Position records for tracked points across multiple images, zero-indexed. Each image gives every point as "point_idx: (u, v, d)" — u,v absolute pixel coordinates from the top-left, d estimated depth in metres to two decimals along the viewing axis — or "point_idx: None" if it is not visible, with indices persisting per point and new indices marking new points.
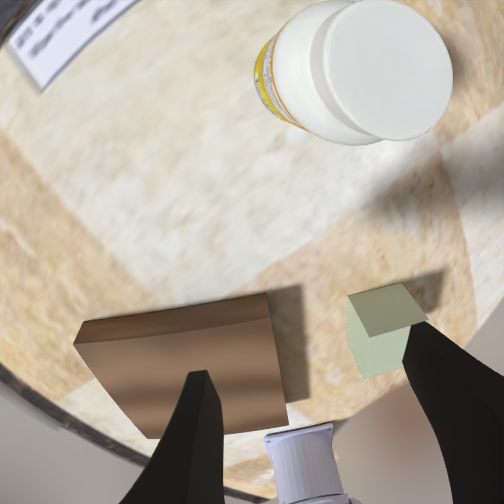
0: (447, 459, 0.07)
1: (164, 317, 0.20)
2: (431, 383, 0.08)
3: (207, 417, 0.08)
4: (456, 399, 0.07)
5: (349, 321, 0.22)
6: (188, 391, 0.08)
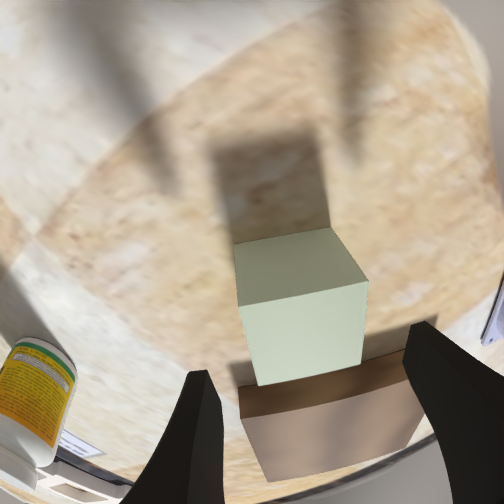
0: (447, 459, 0.07)
1: None
2: (431, 383, 0.08)
3: (207, 417, 0.08)
4: (456, 399, 0.07)
5: None
6: (188, 391, 0.08)
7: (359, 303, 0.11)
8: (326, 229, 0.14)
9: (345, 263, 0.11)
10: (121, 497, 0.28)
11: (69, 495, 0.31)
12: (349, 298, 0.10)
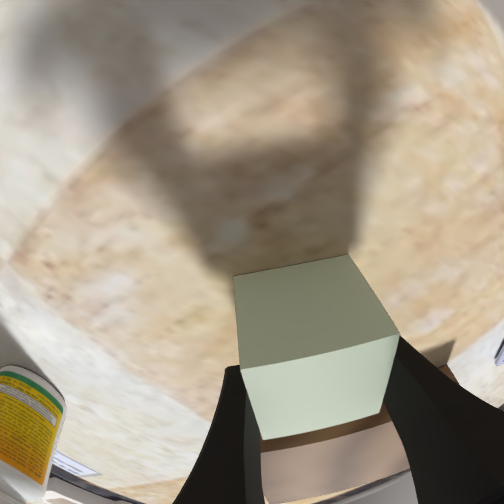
0: (414, 474, 0.07)
1: None
2: (398, 396, 0.08)
3: (250, 412, 0.08)
4: (420, 415, 0.07)
5: None
6: (230, 386, 0.08)
7: (385, 357, 0.08)
8: (344, 258, 0.11)
9: (371, 307, 0.09)
10: None
11: None
12: (376, 352, 0.08)
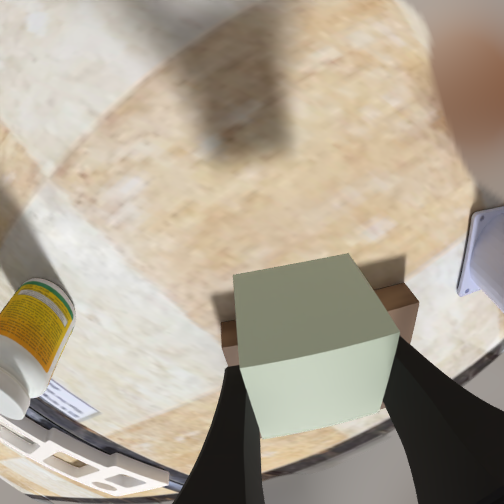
0: (414, 474, 0.07)
1: None
2: (398, 395, 0.08)
3: (250, 412, 0.08)
4: (420, 415, 0.07)
5: None
6: (230, 386, 0.08)
7: (386, 355, 0.08)
8: (344, 257, 0.11)
9: (370, 306, 0.09)
10: (111, 465, 0.31)
11: (62, 470, 0.34)
12: (375, 352, 0.08)
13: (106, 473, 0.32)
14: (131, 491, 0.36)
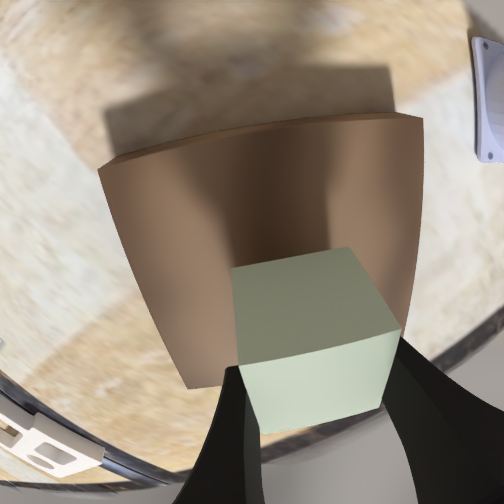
0: (414, 474, 0.07)
1: None
2: (398, 395, 0.08)
3: (250, 412, 0.08)
4: (420, 415, 0.07)
5: None
6: (230, 386, 0.08)
7: (386, 352, 0.08)
8: (344, 250, 0.11)
9: (372, 301, 0.09)
10: (31, 427, 0.22)
11: None
12: (376, 348, 0.08)
13: (31, 440, 0.24)
14: (68, 471, 0.28)
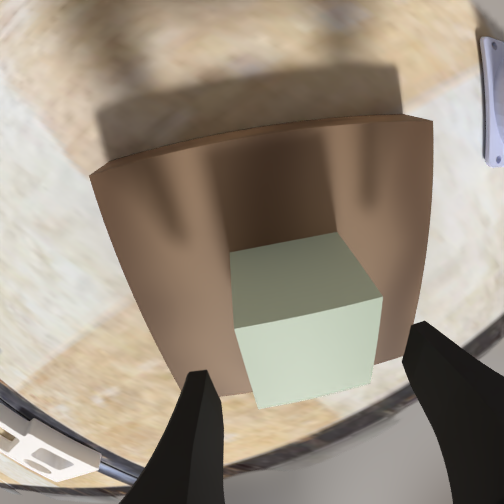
0: (447, 459, 0.07)
1: None
2: (431, 383, 0.08)
3: (207, 417, 0.08)
4: (456, 399, 0.07)
5: None
6: (188, 391, 0.08)
7: (371, 321, 0.09)
8: (332, 235, 0.12)
9: (356, 275, 0.10)
10: (27, 433, 0.21)
11: None
12: (361, 316, 0.09)
13: (28, 446, 0.23)
14: (66, 475, 0.27)
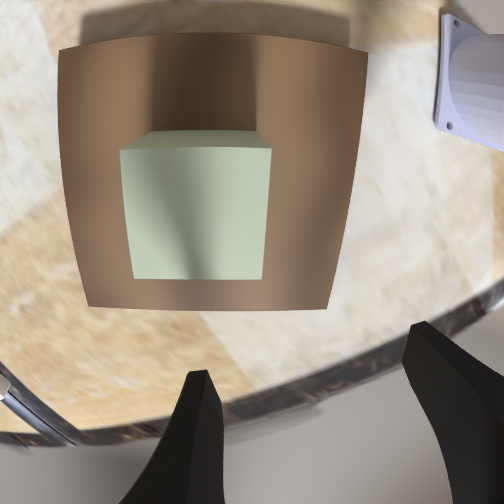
0: (447, 459, 0.07)
1: None
2: (431, 383, 0.08)
3: (207, 417, 0.08)
4: (456, 399, 0.07)
5: None
6: (188, 391, 0.08)
7: (258, 177, 0.09)
8: (250, 131, 0.12)
9: (254, 141, 0.10)
10: None
11: None
12: (246, 166, 0.09)
13: None
14: None
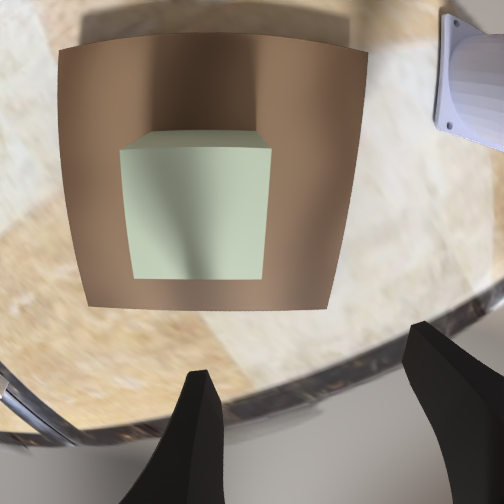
0: (447, 459, 0.07)
1: None
2: (431, 383, 0.08)
3: (207, 417, 0.08)
4: (456, 399, 0.07)
5: None
6: (188, 391, 0.08)
7: (258, 177, 0.09)
8: (250, 131, 0.12)
9: (254, 141, 0.10)
10: None
11: None
12: (246, 166, 0.09)
13: None
14: None
